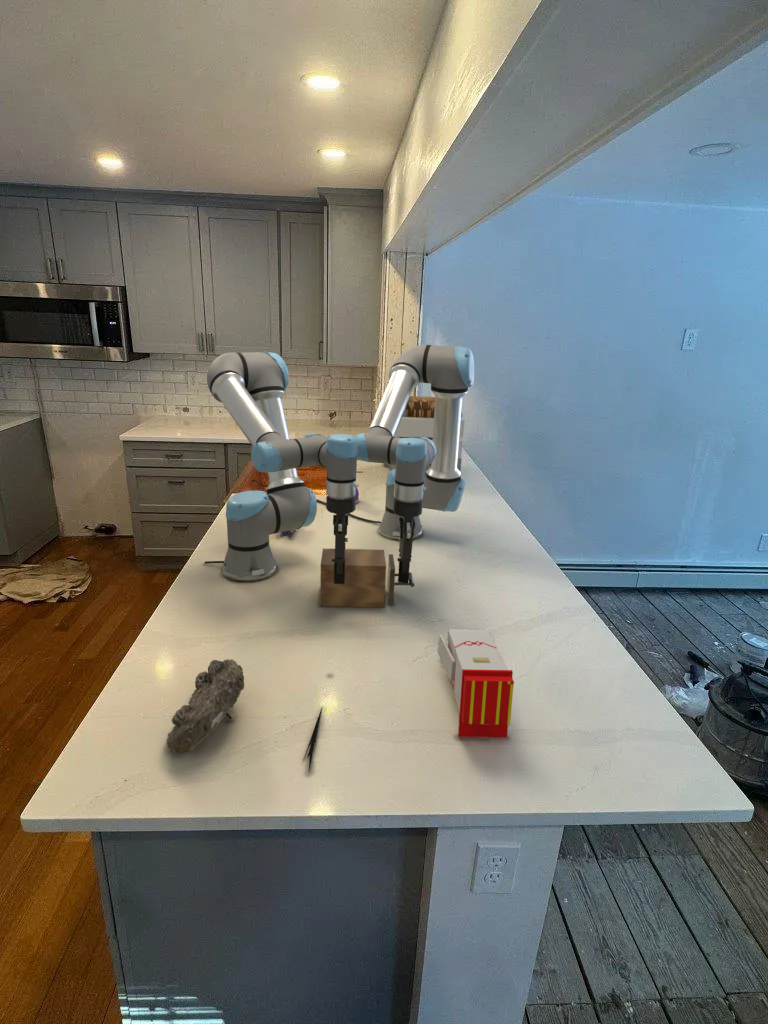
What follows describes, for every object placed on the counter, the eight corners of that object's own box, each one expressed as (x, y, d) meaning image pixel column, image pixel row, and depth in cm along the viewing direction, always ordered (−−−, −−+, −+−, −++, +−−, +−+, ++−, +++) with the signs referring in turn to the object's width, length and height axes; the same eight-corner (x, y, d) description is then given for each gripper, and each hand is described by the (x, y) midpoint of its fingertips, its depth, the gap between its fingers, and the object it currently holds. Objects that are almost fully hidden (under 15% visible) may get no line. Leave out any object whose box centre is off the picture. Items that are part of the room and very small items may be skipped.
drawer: (410, 586, 160) (412, 554, 157) (414, 603, 151) (416, 569, 148) (336, 585, 159) (336, 553, 155) (335, 601, 150) (335, 567, 147)
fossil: (192, 660, 117) (244, 628, 112) (224, 691, 120) (276, 661, 115) (142, 746, 98) (202, 712, 93) (182, 779, 101) (242, 748, 96)
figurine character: (295, 542, 192) (300, 522, 205) (294, 523, 188) (300, 503, 202) (275, 542, 191) (282, 521, 205) (274, 522, 188) (281, 502, 201)
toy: (488, 613, 130) (523, 677, 101) (484, 667, 133) (517, 744, 104) (435, 612, 130) (455, 676, 101) (432, 666, 133) (451, 743, 103)
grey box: (382, 463, 289) (386, 382, 275) (445, 464, 293) (451, 384, 279) (390, 482, 257) (394, 392, 243) (460, 483, 261) (468, 394, 247)
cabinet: (382, 588, 160) (384, 549, 156) (384, 607, 151) (386, 566, 147) (322, 587, 159) (322, 548, 155) (320, 606, 150) (320, 564, 145)
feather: (331, 679, 122) (336, 673, 122) (307, 777, 96) (313, 769, 95) (324, 675, 122) (329, 669, 121) (298, 772, 95) (304, 764, 95)
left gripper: (356, 511, 134) (353, 594, 142) (355, 482, 156) (353, 556, 163) (324, 510, 134) (323, 593, 141) (328, 482, 155) (327, 555, 163)
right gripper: (425, 507, 140) (419, 592, 148) (420, 491, 152) (414, 571, 160) (395, 506, 140) (390, 592, 148) (392, 490, 152) (387, 570, 160)
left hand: (339, 573), depth 152 cm, fingers closed on cabinet, 10 cm apart
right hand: (403, 581), depth 154 cm, fingers closed
